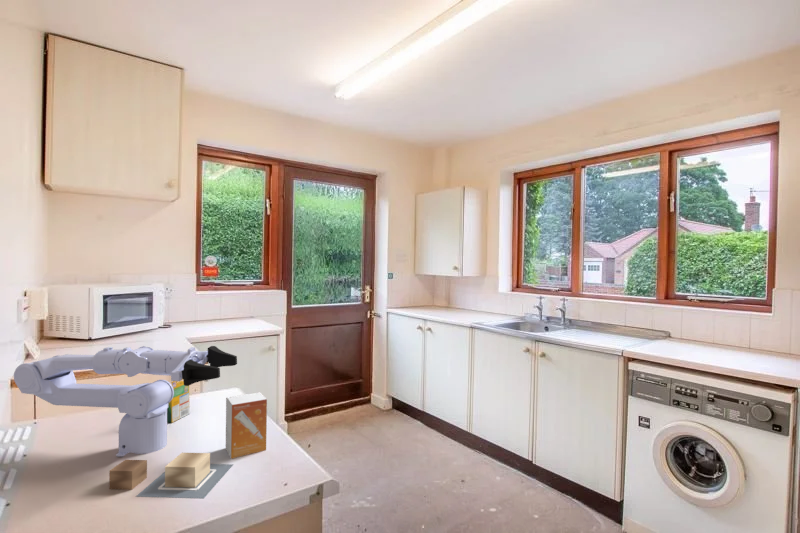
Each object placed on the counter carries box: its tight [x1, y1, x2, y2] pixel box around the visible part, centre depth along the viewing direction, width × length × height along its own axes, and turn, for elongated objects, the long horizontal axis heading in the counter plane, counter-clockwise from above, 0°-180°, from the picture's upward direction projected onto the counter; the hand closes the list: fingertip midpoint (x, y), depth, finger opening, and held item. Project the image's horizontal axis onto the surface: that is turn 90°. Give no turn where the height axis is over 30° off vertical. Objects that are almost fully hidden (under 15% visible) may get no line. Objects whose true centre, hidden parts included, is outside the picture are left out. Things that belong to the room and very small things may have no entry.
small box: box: [225, 391, 268, 459], centre depth 98 cm, size 8×6×13 cm
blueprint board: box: [135, 463, 234, 499], centre depth 85 cm, size 13×13×1 cm
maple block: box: [164, 452, 211, 488], centre depth 85 cm, size 6×6×4 cm
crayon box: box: [167, 379, 191, 424], centre depth 119 cm, size 7×3×12 cm, turn 169°
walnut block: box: [108, 459, 148, 491], centre depth 83 cm, size 4×4×4 cm
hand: (228, 366), depth 97 cm, fingers open, 7 cm apart
